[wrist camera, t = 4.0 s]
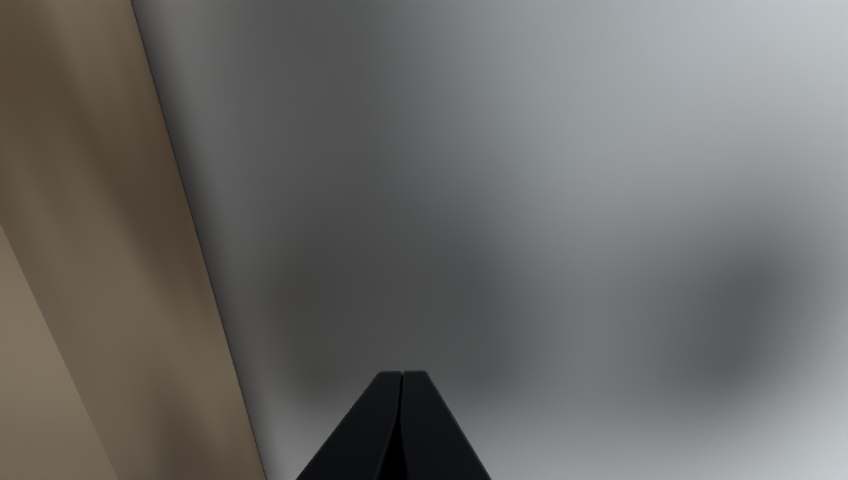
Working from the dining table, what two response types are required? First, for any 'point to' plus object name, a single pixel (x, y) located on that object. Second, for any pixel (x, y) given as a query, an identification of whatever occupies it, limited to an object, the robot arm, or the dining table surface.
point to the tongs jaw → (103, 267)
